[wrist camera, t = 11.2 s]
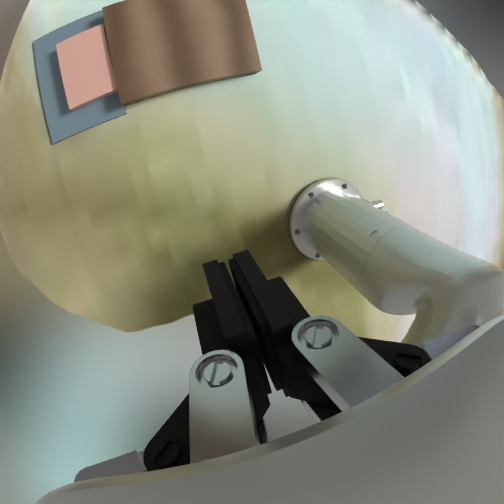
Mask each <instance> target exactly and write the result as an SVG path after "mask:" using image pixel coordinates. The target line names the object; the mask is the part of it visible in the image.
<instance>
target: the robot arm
mask: <svg viewBox="0 0 504 504" xmlns="http://www.w3.org/2000/svg"><path fill="white" fill-rule="evenodd" d="M308 194H309V195H308ZM381 208H383V202H382V201H381V200H376V201H373V202H369V201H367V200H365V199H363V198H362V196H361V194H360V192H359V191H358V189H357V188H356V187H355V186H354V185H352V184H351V183H349V182H347V181H345V180H342V179H338V178H325V179H321V180H319V181H317V182H314V183H313V184H311V185H310V186H309V187H307V188H306V189H305V190H304V191H303V192H302V193H301V194H300V196H299V197H298V199H297V200H296V202H295V204H294V206H293V208H292V211H291V215H290V223H289V227H290V234H291V238H292V241H293V242H294V244H295V246H296V247H297V248H298V249H299V250H300V251H301V252H302V253H303V254H304V255H305V256H307V257H309V258H311V259H315V260H326V261H327V262H328V263H329V264H330V265H331V266H332V267H334V268H335V269H336V270H337V271H338V272H339V273H340V274H341V275H342V276H343V277H344V278H345V279H346V280H347V281H348V282H349V283H350V284H352V285H353V286H354V287H355V288H356V289H357V290H358V291H359V292H360V293H361V294H362V295H363V296H364V297H365V298H366V299H367V300H368V301H369V302H370V303H371V304H372V305H374V306H375V307H376V308H377V309H379V310H381V311H382V312H385V313H388V314H392V315H410V314H416V317H415V320H414V321H413V323H412V325H411V326H410V328H409V330H408V332H407V334H406V335H405V337H404V338H403V340H402V341H401V343H398V342H390V341H383V340H376V339H369V338H362V337H357V336H356V335H355V334H354V333H352V332H351V331H350V330H349V329H348V328H347V327H345V326H344V325H343V324H342V323H341V322H340V321H338V320H336V319H335V318H333V317H329V316H322V315H318V316H311V317H310V316H309V314H308V313H307V311H306V310H305V309H304V307H303V306H302V305H301V303H300V302H299V301H298V299H297V298H296V296H295V295H294V294H293V292H292V291H291V290H290V288H289V287H288V286H287V284H286V283H285V281H284V280H283V279H282V278H281V277H276V278H273V279H270V280H267V279H266V277H265V276H264V274H263V273H262V271H261V270H260V268H259V267H258V265H257V263H256V262H255V260H254V259H253V257H252V256H251V254H250V253H249V251H248V250H245V251H242V252H239V253H235V254H233V259H230V260H228V261H229V265H230V269H231V272H232V276H233V280H234V283H235V286H234V283H233V281H232V279H231V277H230V274H229V272H228V270H227V267H226V265H225V263H224V261H223V262H220V263H218V261H217V259H216V260H213V261H210V262H207V263H204V264H202V265H203V268H204V272H205V275H206V278H207V282H208V285H209V289H210V292H211V295H212V299H210V300H207V301H204V302H200V303H197V304H194V305H193V311H194V316H195V321H196V326H197V331H198V336H199V341H200V345H201V350H202V354H203V356H201V357H200V358H199V359H198V360H197V361H195V363H194V364H193V366H192V368H191V371H190V385H189V386H190V387H189V389H190V390H189V394H188V395H187V396H186V398H185V399H184V400H183V401H182V403H181V404H180V405H179V406H178V408H177V409H176V410H175V411H174V413H173V414H172V415H171V416H170V418H169V419H168V420H167V421H166V422H165V424H164V425H163V426H162V427H161V428H160V430H159V431H158V432H157V433H156V434H155V436H154V437H153V438H152V439H151V440H150V442H149V443H148V445H147V446H146V448H145V450H144V451H141V452H137V451H136V450H135V451H132V452H129V453H127V454H124V455H121V456H118V457H116V458H113V459H110V460H107V461H104V462H101V463H98V464H95V465H92V466H89V467H86V468H84V469H82V470H80V471H79V473H78V474H77V475H76V477H75V481H74V483H71V484H68V485H66V486H63V487H61V488H58V489H56V490H54V491H52V492H49V493H48V494H46V495H45V496H44V497H42V498H41V499H40V500H39V501H38V502H37V503H36V504H504V270H503V269H502V268H500V267H498V266H496V265H494V264H492V263H489V262H487V261H484V260H482V259H479V258H477V257H474V256H472V255H469V254H467V253H464V252H462V251H459V250H457V249H455V248H453V247H450V246H448V245H446V244H445V243H443V242H441V241H439V240H437V239H435V238H433V237H431V236H429V235H427V234H426V233H424V232H422V231H420V230H418V229H417V228H415V227H413V226H411V225H409V224H407V223H405V222H403V221H402V220H400V219H398V218H396V217H394V216H392V215H390V214H389V213H388V212H386V211H382V210H380V209H381ZM295 230H296V231H295ZM235 287H236V288H235ZM263 362H264V363H263ZM264 365H265V367H266V369H267V371H268V373H269V376H270V378H271V380H272V382H273V384H274V386H275V389H276V390H277V391H278V390H280V389H283V392H284V394H285V396H286V397H288V396H290V397H292V398H296V399H299V400H301V401H302V404H303V406H304V407H305V408H306V410H307V411H308V412H309V413H310V415H311V416H312V417H313V418H314V420H315V421H316V422H317V423H316V424H314V425H312V426H310V427H307V428H305V429H302V430H300V431H297V432H295V433H292V434H289V435H287V436H284V437H281V438H279V439H276V440H273V441H270V442H269V441H268V436H267V431H266V426H265V421H264V419H263V416H264V414H265V413H266V411H267V409H268V408H269V406H270V402H269V398H268V395H267V394H270V393H272V391H271V388H270V384H269V381H268V377H267V374H266V370H265V367H264Z"/></svg>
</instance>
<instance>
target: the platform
mask: <svg viewBox="0 0 504 504" xmlns="http://www.w3.org/2000/svg"><path fill="white" fill-rule="evenodd" d="M102 10H103V16H104V23H105V29H106V35H107V41H108V46H109V52H110V57H111V62H112V67H113V72H114V76H115V81H116V86H117V90H118V94H119V99H120V103H121V105H123V106H126V105H129V104H132V103H135V102H138V101H141V100H145V99H148V98H151V97H154V96H158V95H161V94H165V93H168V92H172V91H175V90H179V89H183V88H187V87H191V86H195V85H200V84H204V83H209V82H213V81H218V80H223V79H228V78H234V77H240V76H246V75H252V74H256V73H258V72H260V71H262V69H261V64H260V60H259V55H258V51H257V46H256V42H255V38H254V34H253V29H252V25H251V21H250V17H249V13H248V9H247V5H246V1H245V0H125V1H122V2H118V3H115V4H112V5H109V6H106V7H104V8H102Z"/></svg>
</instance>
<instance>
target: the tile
mask: <svg viewBox="0 0 504 504" xmlns="http://www.w3.org/2000/svg"><path fill="white" fill-rule="evenodd" d="M56 49H57V55H58V60H59V65H60V70H61V75H62V80H63V85H64V89H65V93H66V98H67V102H68V106H69V110H76V109H78V108H80V107H83V106H85V105H87V104H89V103H92V102H94V101H96V100H99V99H101V98H103V97H106V96H108V95H111V94H113V93H116V92H118V90H117V86H116V81H115V76H114V72H113V67H112V62H111V57H110V52H109V46H108V41H107V35H106V29H105V26H104V24H100V25H98V26H95V27H93V28H90V29H88V30H86V31H83V32H81V33H79V34H77V35H74V36H72V37H70V38H68V39H66V40H64V41H62V42H60V43H58V44H56Z"/></svg>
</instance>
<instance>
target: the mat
mask: <svg viewBox="0 0 504 504" xmlns="http://www.w3.org/2000/svg"><path fill="white" fill-rule="evenodd" d="M100 24H104V26H105V23H104V16H103V10H101V11H98V12H96V13H93V14H91V15H88V16H85V17H83V18H81V19H78V20H76V21H74V22H71V23H69V24H67V25H65V26H63V27H60V28H58V29H56V30H54V31H52V32H50V33H48V34H46V35H44V36H42V37H41V38H39V39H37V40H35V41H33V44H34V53H35V61H36V68H37V75H38V81H39V86H40V92H41V97H42V102H43V107H44V111H45V116H46V120H47V124H48V128H49V132H50V136H51V140H52V144H55V143H57V142H59V141H61V140H63V139H65V138H67V137H70V136H72V135H74V134H76V133H79V132H81V131H83V130H86V129H88V128H90V127H93V126H95V125H98V124H100V123H103V122H105V121H108V120H111V119H113V118H116V117H119V116H122V115H124V114H127V113H126V109H125V106H123V105H121V103H120V99H119V94H118V92H116V93H113V94H111V95H108V96H106V97H103V98H101V99H99V100H96V101H94V102H92V103H89V104H87V105H85V106H83V107H80V108H78V109H76V110H69V106H68V102H67V98H66V93H65V89H64V85H63V80H62V75H61V70H60V65H59V60H58V55H57V49H56V44H58V43H60V42H62V41H64V40H66V39H68V38H70V37H72V36H74V35H77V34H79V33H81V32H83V31H86V30H88V29H90V28H93V27H95V26H98V25H100Z"/></svg>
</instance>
